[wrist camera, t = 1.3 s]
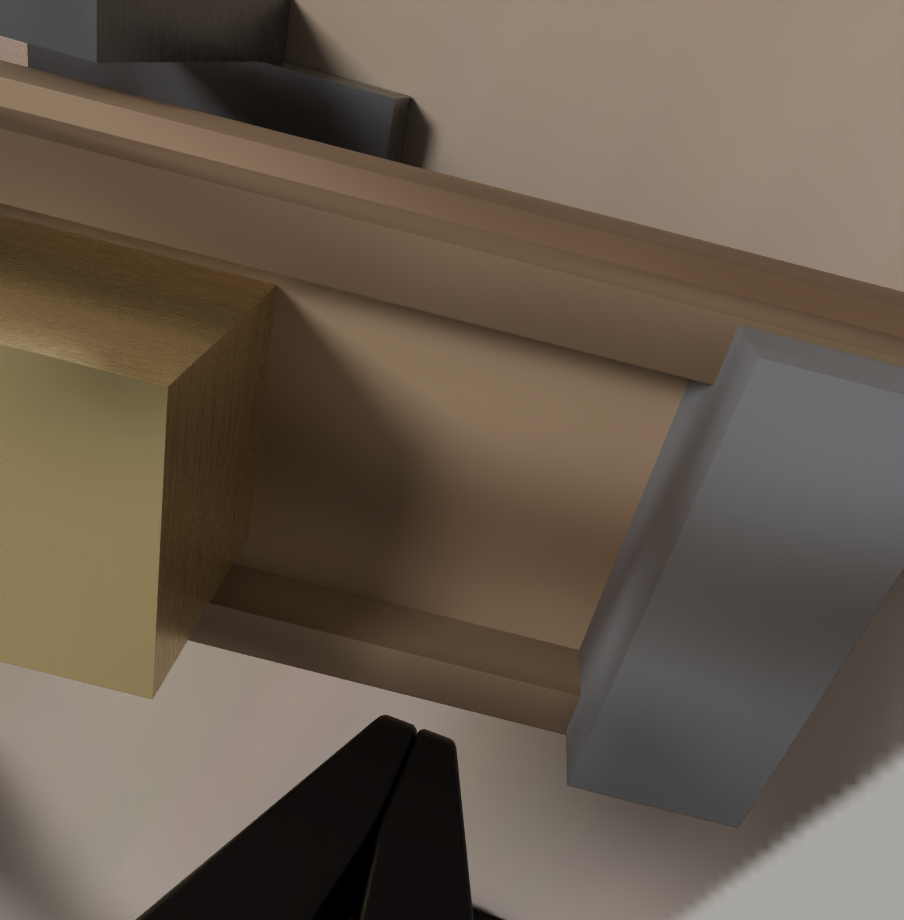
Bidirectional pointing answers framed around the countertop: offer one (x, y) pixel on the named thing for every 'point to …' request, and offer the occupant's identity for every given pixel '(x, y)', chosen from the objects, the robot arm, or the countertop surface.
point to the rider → (120, 449)
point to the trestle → (207, 65)
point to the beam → (518, 440)
